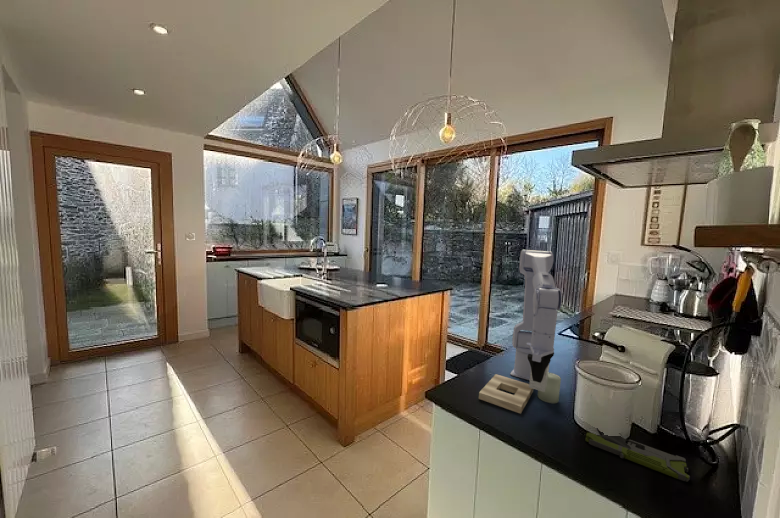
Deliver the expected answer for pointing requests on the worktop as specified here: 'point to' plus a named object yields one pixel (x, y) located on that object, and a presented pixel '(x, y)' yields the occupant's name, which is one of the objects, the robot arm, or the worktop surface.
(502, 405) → the socket board
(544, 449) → the worktop surface
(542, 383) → the square peg
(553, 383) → the round peg
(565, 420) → the worktop surface
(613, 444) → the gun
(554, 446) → the worktop surface
